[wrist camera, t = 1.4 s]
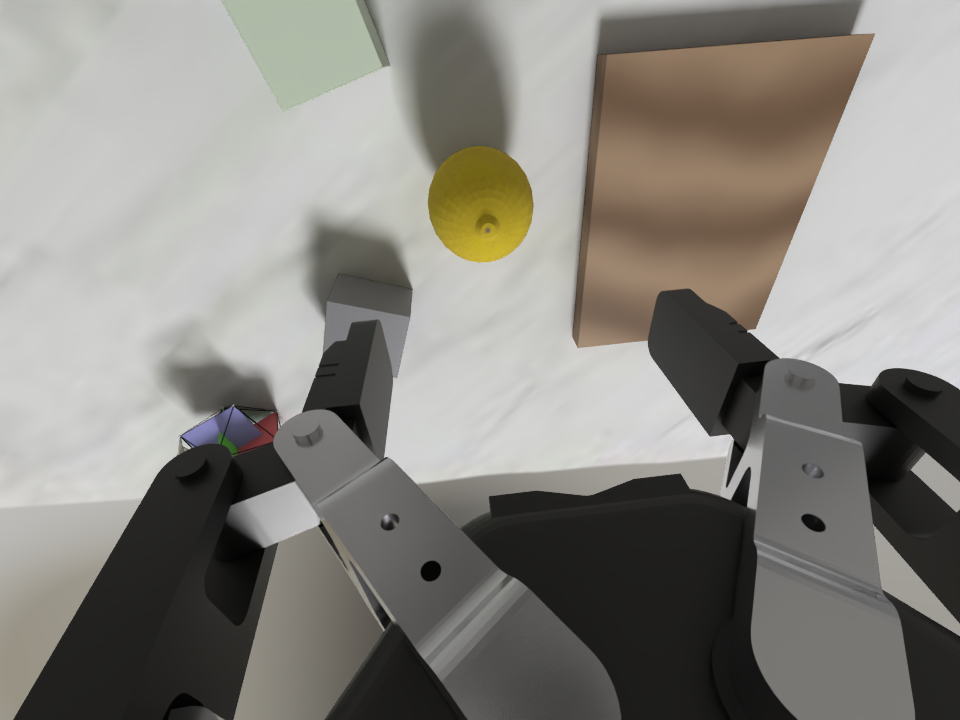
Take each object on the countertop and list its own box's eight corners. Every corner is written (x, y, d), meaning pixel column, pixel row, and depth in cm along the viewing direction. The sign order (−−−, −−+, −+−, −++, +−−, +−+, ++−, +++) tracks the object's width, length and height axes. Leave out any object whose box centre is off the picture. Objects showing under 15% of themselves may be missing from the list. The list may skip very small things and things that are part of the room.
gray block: (338, 272, 28) (326, 301, 25) (412, 288, 29) (410, 317, 26) (333, 333, 31) (321, 366, 27) (400, 345, 32) (397, 377, 29)
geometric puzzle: (273, 388, 30) (174, 478, 26) (325, 445, 34) (248, 532, 30) (229, 376, 34) (138, 451, 30) (280, 428, 38) (207, 502, 34)
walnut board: (597, 54, 22) (606, 55, 21) (851, 34, 22) (874, 33, 21) (572, 337, 33) (578, 347, 31) (743, 318, 33) (755, 328, 32)
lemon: (479, 111, 23) (498, 134, 16) (536, 190, 26) (570, 236, 19) (409, 181, 25) (401, 226, 18) (469, 247, 27) (480, 306, 21)
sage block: (242, -17, 19) (203, -31, 16) (339, -65, 18) (319, -90, 15) (304, 103, 22) (282, 111, 19) (390, 65, 21) (382, 67, 18)
